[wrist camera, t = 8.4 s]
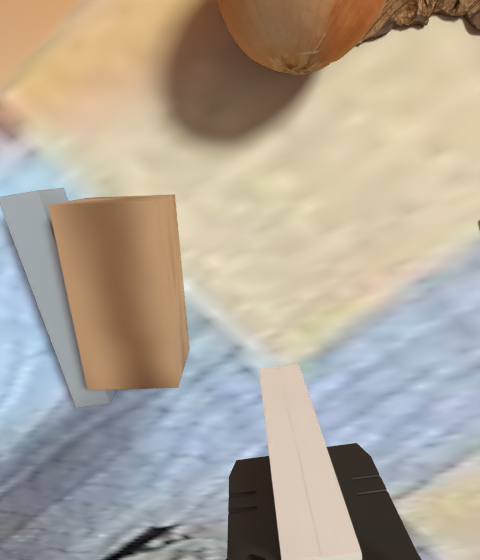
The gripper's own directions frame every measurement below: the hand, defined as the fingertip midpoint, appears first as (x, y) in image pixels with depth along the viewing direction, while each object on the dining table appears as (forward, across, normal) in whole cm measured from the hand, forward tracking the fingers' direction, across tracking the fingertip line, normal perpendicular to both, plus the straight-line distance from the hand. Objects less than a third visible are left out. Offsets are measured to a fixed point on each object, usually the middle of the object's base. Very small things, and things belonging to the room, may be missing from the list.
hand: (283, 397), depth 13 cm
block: (+17, -10, +1) cm, 20 cm away
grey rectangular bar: (+17, -16, +1) cm, 23 cm away
